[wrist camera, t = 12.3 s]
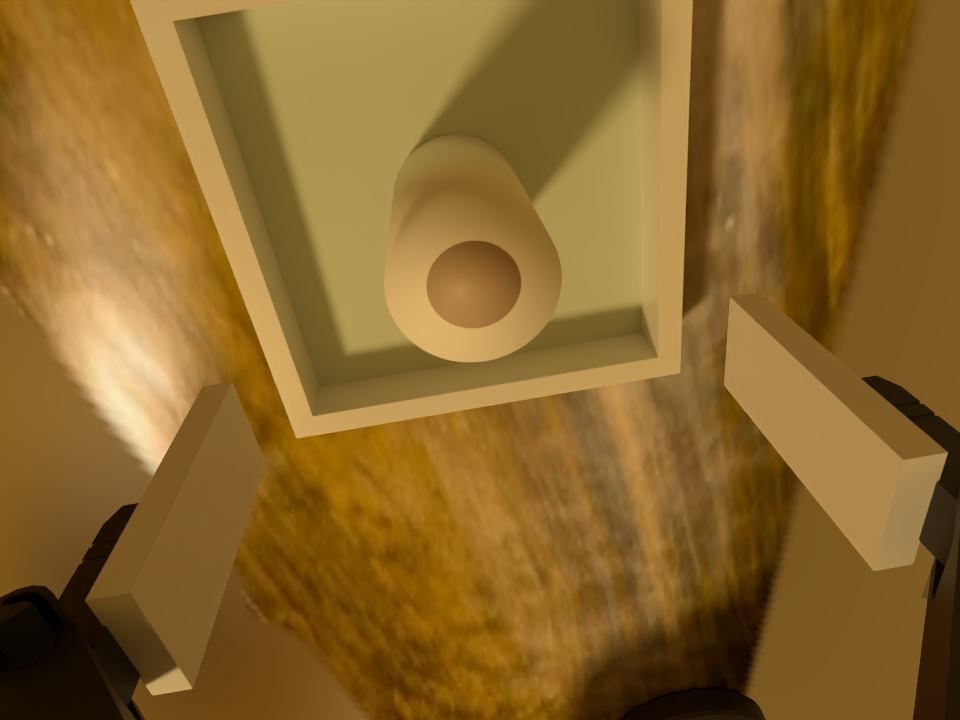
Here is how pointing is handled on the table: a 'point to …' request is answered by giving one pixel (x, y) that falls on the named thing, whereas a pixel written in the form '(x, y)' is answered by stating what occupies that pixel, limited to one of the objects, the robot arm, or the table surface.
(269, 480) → the table surface
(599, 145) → the rectangular tray
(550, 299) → the kitchen roll
